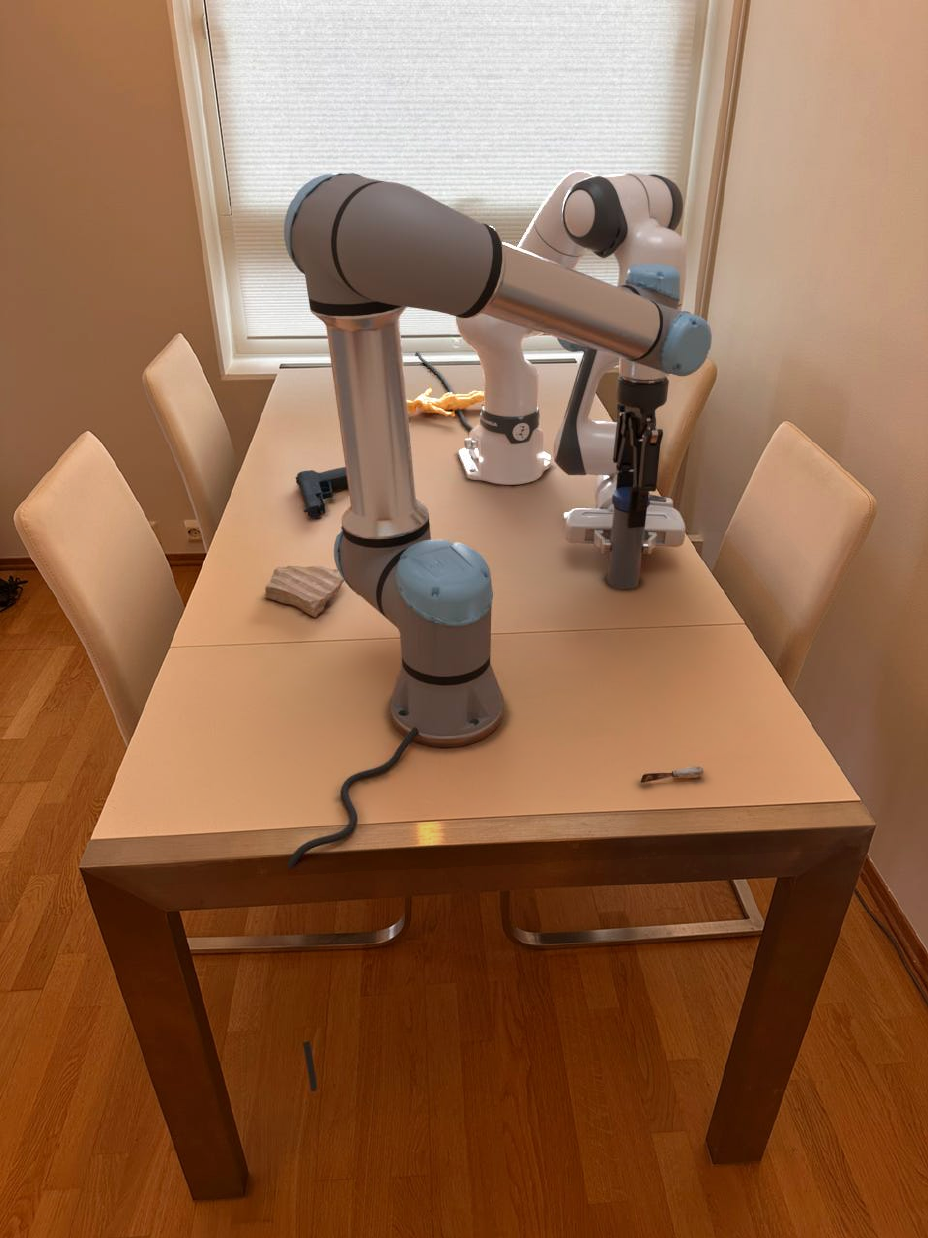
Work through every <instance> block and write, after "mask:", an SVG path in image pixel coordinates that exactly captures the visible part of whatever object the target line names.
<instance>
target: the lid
mask: <svg viewBox="0 0 928 1238" xmlns="http://www.w3.org/2000/svg"><path fill="white" fill-rule="evenodd" d="M629 488H631V487H621V488H618V489H616V490H615V491H614V492H613V496H612V504H613V505H614V506H615V507H617V508H619V509H622V510H626V511H629V503H630V493H631V492H630V490H629ZM650 494H651V492H649V495H648V504H647V507H648V506H649V505H650Z"/></svg>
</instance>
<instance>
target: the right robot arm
mask: <svg viewBox="0 0 928 1238" xmlns="http://www.w3.org/2000/svg"><path fill="white" fill-rule="evenodd" d="M683 199H684V198H683V195H682V193H681V190H680V188H679V186H678V185H677V184H676V183H675V182H674V181H673V180H671V179H669V178H667V177H665V176H663V175H659V174H655V173H653V174H652V173H651V174H645V173H644V174H643V173H634V172H632V173H631V172H625V173H620V174H610V175H604V176H602V175H595V174H593V173H591V172H588V171H585V170H575V171H572V172H569V173H568V174H566V175H565V176H564V177H563V178H562V179H561V180H560V181H559V183H557V185H556V186H555V187H554V188H553V189H552V190H551V192H550V193H549V194H548V196H547V197H546V199H545V200H544V201H543V203H542V204H541V206H540V207H539V209H538V211H536V214H535V216H534V218H533V219H532V221H531V223H529V226H528V228H527V229H526V230H525V231H526V232H525V233H524V235H523V236H522V238H521V240H520V242H519V244H518V245H517V248H519V249H522V250H524V251H527V252H529V253H532V254H535V255H537V256H540V257H542V258H545V259H547V260H550V261H552V262H555V263H558V264H560V265H563V266H565V267H568V268H570V269H573V270H576V269H577V268H578V266H579V264H580V263H581V261H582V260H583V258H584V256H585V255H586V253H587V252H588V251H591V252H592V253H593V254H595V255H596V256H597V257H599V258H601V259H606V258H608V257H611V256H613V257H614V258H615V260H616V262H617V265H618V277H617V278H618V279H617V286H616V287H620V286H622V285H626V284H625V280H626V279H627V272H628V270H629V269H630V268H631V267H633V266H635V265H640V264H661V265H667V266H671V267H674V268H676V269H677V270H678V271H679V273H680V292H679V298H680V301H679V302H678V310H679V311H682V309H683V303H684V296H685V290H686V289H685V288H686V279H687V278H686V277H687V246H686V242H685V240H684V238H683V237H682V236H681V234H679V233H677V231H676V230H677V228H678V227H679V225H680V222H681V220H682V218H683V217H682V216H683V212H684V200H683ZM455 324H456V329H457V332H458V333H459V335H460V337H461V338H462V340H463V341H464V342H465V343H466V344H467V345H469V346H470V347H471V348H472V349H473V350H474V351H475V353H476V355H477V357H478V359H479V362H480V365H481V370H482V375H483V392H484V401H483V404H481V406H482V408H481V412H480V414H479V415H480V416H479V417H480V418H479V423H478V424H477V425H475V426H474V427H472V426H471V425H470V424H469V423H468V421H467V420H466V418H465V416H464V414H463V412H462V410H461V409H457V410H456V412H457V414H458V416H459V418H460V420H461V423H462V425H464V427H465V428H466V429H467V430H469V434H468V438H465V439H464V447H463V448H460V449H459V450H458V457H459V460H460V463H461V465H462V467H463V470H464V473H465V475H466V477H467V479H469V480H474V481H483V482H487V483H490V484H496V485H506V486H514V485H515V486H516V485H523V484H524V485H525V484H528V483H531V482H534V481H537V480H539V479H540V478H541V477H542V476H543V474H544V472H545V471H547V470H548V469H550V467H551V463H550V460H551V455H550V454H549V453H547V452H545V433H544V430H542V429H541V428H539V426H540V419H541V414H540V408H539V406H538V403H539V401H538V399H539V377H540V376H539V371H538V369H537V368H536V366H535V365H534V364H533V362H530V361H529V360H527V359H525V356H524V351H523V340H527V339H530V338H534V337H537V336H542V335H545V334H544V333H541V332H537V331H534V330H531V329H528V328H525V327H521V326H518V325H515V324H512V323H509V322H505V321H502V320H499V319H496V318H493V317H489V316H486V315H483V314H479V315H477V316H476V317H473V318H470V319H463V318H459V317H456V316H455ZM414 356H415V357H417V358H418V359H419V360H420V361H421V363H423V364H424V365H425V366H427V367H428V368H429V369H430V370H432V372H434V374H435V375H437V377H438V378H439V379H440V380H441V382H442V383H443V385H445V387H446V389H447V391H448V393H453V394H454V395H455V393H454V391H453V389H452V388H451V385H450V384H449V382H448V381H447V379H445V377H444V376H443V375H442V373H441V372H440V371H438V369H437V368H435V367H434V366H433V365H432V364H431V363H430V362H428V361H427V360H426V359H424V358H423V357H422V355H421V353H420V351H416V352H415V354H414ZM617 366H619V357H617V356H614V355H611V354H608V353H605V352H601V351H598V350H595V349H590V350H588V351H586V352H583V354H582V356H581V360H580V362H579V367H578V369H577V373H576V377H575V380H574V384H573V387H572V390H571V394H570V396H569V400H568V403H567V407H566V410H565V413H564V416H563V418H562V422H561V423H560V426H559V428H558V429H557V433H556V435H555V439H554V442H553V460H554V463H555V464H556V466H557V467H559V469H560V470H561V471H563V473H565V474H566V475H568V476H587V475H589V476H590V475H591V476H597V477H596V481H595V487H594V499H595V500H594V501H595V508H594V507H593V508H592V507H588V508H587V507H576V508H572V509H570V510H569V511H568V512H564V513H563V515H562V520H563V523H564V524H565V527H564V528H565V529H564V540H565V541H566V542H567V543H570V544H585V545H589V544H590V545H594V546H596V547H598V548H599V549H600V553H609V552H610V548H611V542H610V540H611V529H612V518H613V507H614V505H613V504H612V496H613V492H614V491H615V490H616V483H617V473H619V471H617V469H616V465H617V463H614V462H613V454H614V445H615V435H616V426H617V421H616V422H615V421H603V420H593V419H590V417H589V416H590V412H591V409H592V405H593V403H594V400H595V396H596V393H597V390H598V388H599V384H600V381H601V379H602V378H603V377H604V375H605V374H606V373H607V372H608V371H610V370H611V369H613V368H615V367H617ZM640 441H643V439H642V440H640ZM548 460H549V461H548ZM631 471H634V470H630V472H631ZM685 538H686V524H685V521H684V519H683V516H682V515H681V513H680V511H678V510H677V509H676V508H674V501H673V499H672V498H670V497H664V496H659V495H655V494H651V493H650V505H649V506H648V507H647V514H646V522H645V531H644V540H643V549H642V555H651V554H652V551H653V549H654V548H655V547H669V548H670V547H671V548H679V547H681V546H682V545H684V542H685Z"/></svg>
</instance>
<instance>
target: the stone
mask: <svg viewBox="0 0 928 1238" xmlns="http://www.w3.org/2000/svg"><path fill="white" fill-rule="evenodd" d="M344 582H345V581H344V579H343V578H342V576H341V575H340V573H339V571H338V569H337V568H336V569H331V568H328V567H325V566H321V565H310V566H300V565H287V566H283V567H282V566H277V567H275V568H274V570H273V573H272V574H271V578H270V581H269V583H267V584H266V585H265V587H264V588H265V593H264V597H265V598H266V599H269V600H273V601H277V602H278V603H280V604H288V605H291V606H294V607H296V608H298V609H300V610H301V611H302V612H305V614H307V615H309V616H310V617H314V618H317V617H318V615H319V614H321V613H322V612H323V611H324V609H325V606H326V604H327V602H328V601H329V600H330V599H331V598H332V596H334V595H335V594H337V593H338V591H340V589H341V587H342V585H343V583H344Z"/></svg>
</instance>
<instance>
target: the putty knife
mask: <svg viewBox="0 0 928 1238" xmlns="http://www.w3.org/2000/svg"><path fill="white" fill-rule="evenodd" d="M704 772H705V771H704V768H702V767H701V766H697V765H695V766H688V767H683V768H679V769H675V770H673V771H671V772H653V773H652V772H651V773H650V772H649V773H644V774H642V776H641V779H640V783H642V784H645V783H648V782H653V781H659V780H665V779H668V778H673V779H674V778H675V779H693V778H694V779H695V778H700V777H702V776H703V775H704Z"/></svg>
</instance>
